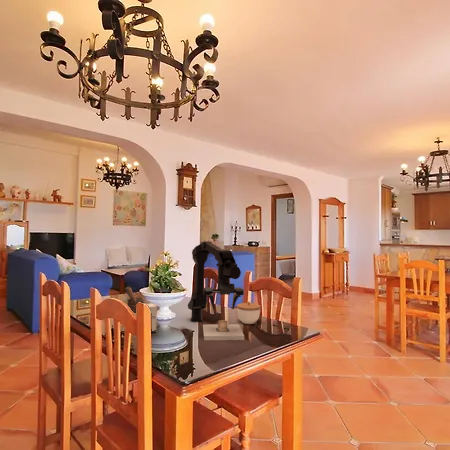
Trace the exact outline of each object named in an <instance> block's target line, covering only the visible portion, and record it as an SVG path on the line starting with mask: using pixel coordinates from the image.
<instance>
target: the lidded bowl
mask: <svg viewBox="0 0 450 450" xmlns="http://www.w3.org/2000/svg"><path fill="white" fill-rule="evenodd" d="M236 310H237V311H236V312H237V317H238V319H239V320H240V321H241V323H242V324H245V325H253V324H256V323H257V321H258V320H259V318H260V314H261V305H260V304H257V303H254V302H250V301H247V302H243V303H238V304H237V305H236Z"/></svg>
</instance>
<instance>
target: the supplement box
mask: <svg viewBox="0 0 450 450" xmlns="http://www.w3.org/2000/svg"><path fill="white" fill-rule="evenodd" d="M146 304H147V305H148V306H149V308H150V310H151V313H152V331H154V330H156V331H157V317H158V316H157V315H158V306H157V305H156V304H154V303H146Z"/></svg>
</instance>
